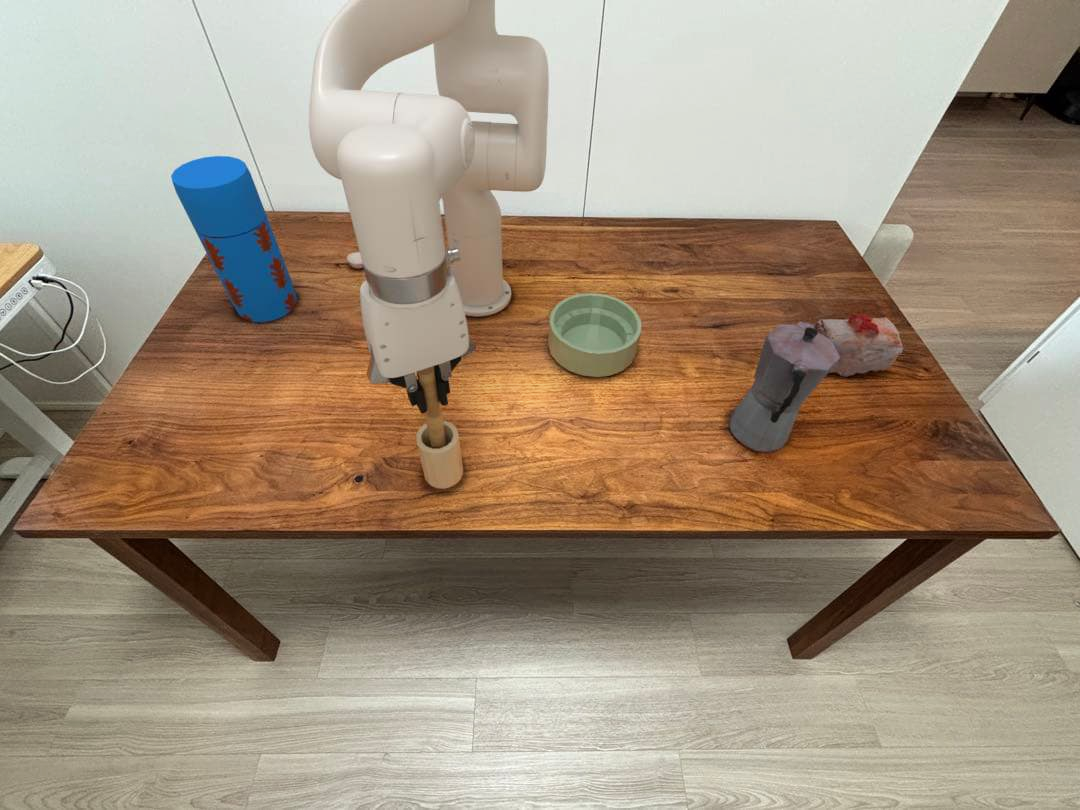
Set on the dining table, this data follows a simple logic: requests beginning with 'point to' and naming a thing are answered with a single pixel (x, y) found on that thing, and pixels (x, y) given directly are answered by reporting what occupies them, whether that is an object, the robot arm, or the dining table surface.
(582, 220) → the dining table surface
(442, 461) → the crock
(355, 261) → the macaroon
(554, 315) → the bowl
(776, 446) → the moka pot
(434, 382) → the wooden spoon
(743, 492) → the dining table surface
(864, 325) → the food item
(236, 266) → the thermos
